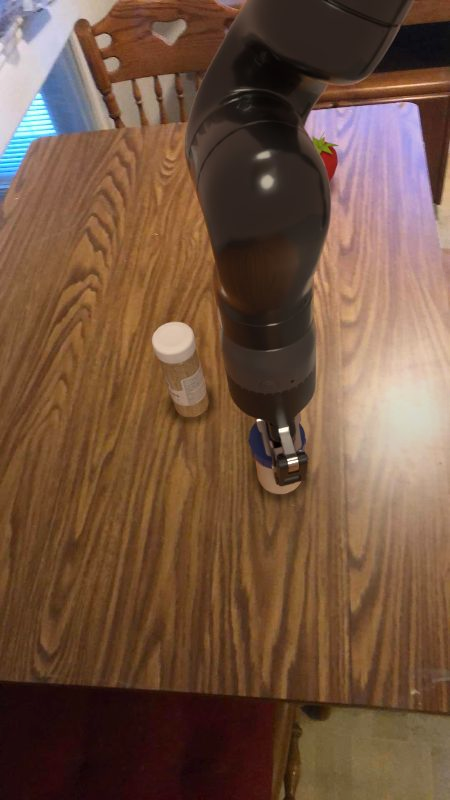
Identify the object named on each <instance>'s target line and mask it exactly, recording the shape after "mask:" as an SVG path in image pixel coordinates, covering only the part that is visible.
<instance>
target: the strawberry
mask: <svg viewBox="0 0 450 800" xmlns="http://www.w3.org/2000/svg"><path fill="white" fill-rule="evenodd" d="M324 135H325V131H324V132H323V133H322V134H321V136H320V138H319V139H317V138H316V137H315V136H312V142H313V143H314V145H315V147H316V149H317V150H318V152H319V154H320V156H321V157H322V159H323V162H324V164H325V167H326V170H327V174H328V178H329V182H331V181H332V179H333V178H334V176H335V173H336V170H337V168H338V164H339V159H338V153H337V150H336V149H335V148H334V147H339V144H336V143H331V142H327V141H326V136H324Z"/></svg>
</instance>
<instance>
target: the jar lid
mask: <svg viewBox="0 0 450 800" xmlns="http://www.w3.org/2000/svg"><path fill="white" fill-rule="evenodd" d="M299 429H300V435H301V442H302V447H301V448H300V449H299V450H302V451H305V452H306V445H307V438H306V433H305V430H304V429H305V428H304V427H303V426H302V424H301V422H300V423H299ZM268 437H269V435H268ZM269 440H270V441H274V440H273V439H272V438H270V437H269ZM248 445H249V450H250V453H251V456H252V458H253V459H254V461H255V460H256V461H257V462H258V463H259V464H261V465H262V466H263V467H266V468H270V469H272V466H271V464H272V459H271V456H268V455H267V454H266V452H265V449H264V446H263V441H262V435H261V432H260V431H259V429H258V426H257V423H256V422H255V423H254V424H253V425H252V427H251V428H250V431H249V434H248ZM299 450H298V451H299ZM282 454H283V453H280V454H278V455H282ZM278 455H277V456H278Z"/></svg>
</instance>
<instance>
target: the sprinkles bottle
mask: <svg viewBox="0 0 450 800" xmlns="http://www.w3.org/2000/svg"><path fill="white" fill-rule="evenodd" d="M151 345H152V348H153V351H154V354H155V356H156V358H157V359H158V360H159V363H160V366H161V369H162V373H163V376H164V379H165V382H166V386H167V388H168V391H169V394H170V397H171V399H172V402H173V405H174V408H175V411H176V412H177V413H178V414H179V415H180V416H181V417H184V418H196V417H198V416H200V415H202V414H204V412H206V411H207V410H208V407H209V403H210V402H209V401H210V400H209V396H208V392H207V386H206V385H207V384H206V381H205V377H204V373H203V369H202V364H201V361H200V358H199V355H198V352H197V351H198V350H197V341H196V337H195V334H194V331H193V329H192V328H191V327H190V325H188V324H187V323H185V322H181V321H170V322H166V323H164V324H162V325H160V326H158V328H157V329H156V330H155V331H154V333H153V334H152V337H151Z"/></svg>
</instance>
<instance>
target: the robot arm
mask: <svg viewBox="0 0 450 800" xmlns="http://www.w3.org/2000/svg"><path fill="white" fill-rule="evenodd" d="M415 1H416V0H246V1H245V2H244V4H243V5H242V7H241V9H240V10H239V11H238V13H237V15H236V16H235V18H234V20H233V21H232V23H231V24H230V26H229V28H228V30H227V31H226V33H225V34H224V38H223V39H222V41H221V43H220V45H219V47H218V48H217V51H216V52H215V54H214V56H213V58H212V60H211V62H210V63H209V66H208V67H207V69H206V71H205V73H204V75H203V77H202V79H201V81H200V83H199V86H198V89H197V91H196V94H195V96H194V98H193V102H192V104H191V108H190V111H189V115H188V118H187V119H188V120H187V124H186V129H185V136H184V155H185V162H186V166H187V170H188V172H189V176H190V179H191V181H192V185H193V186H194V190H195V194H196V197H197V200H198V204H199V206H200V210H201V212H202V216H203V220H204V223H205V227H206V231H207V235H208V239H209V242H210V243H209V244H210V247H211V250H212V254H213V259H214V260H213V261H214V262H213V266H212V267H213V268H212V288H213V295H214V300H215V305H216V311H217V317H218V322H219V344H220V350H221V351H220V352H221V355H222V360H223V366H224V371H225V375H226V376H225V377H226V381H227V387H228V391H229V395H230V397H231V400H232V401H233V404H234V405H235V406H236V407H237V408H238V409H239V410H240V411H241V412H242V413H244V414H245V415H247V416H249V417H251V418H253V419H255V423H257V426H258V429H259V431H260V432H261V435H262V441H263V446H264V449H265V452H266V454H267V455H268V456H271V459H272V464H271V466H272V470H274V478H275V482H276V484H277V485H279V486H281V487H282V486H286V485H290V484H294V483H296V482H300V481H301V482H303V481H306V476H307V471H308V464H309V463H308V461H309V456H308V454H307V453H306V450H305V451H302V450H299V449H300V448H301V447H302V442H301V435H300V429H299V423H300V424H301V421H302V418H301V412H302V411H303V410H304V409H306V407H307V406H308V405H309V403H310V402H311V401H312V399H313V397H314V395H315V392H316V387H317V346H318V345H317V344H318V343H317V339H318V335H317V326H316V320H315V275H316V272H317V270H318V267H319V264H320V261H321V257H322V254H323V251H324V247H325V244H326V241H327V237H328V234H329V230H330V225H331V217H332V195H331V194H332V193H331V185H330V181H329V178H328V174H327V170H326V167H325V164H324V162H323V159H322V157H321V156H320V154H319V152H318V150H317V149H316V147H315V145H314V143H313V142H312V141H313V139H311V138H312V137H310V135H309V133H308V132H307V129H306V128H305V127H306V123H307V121H308V119H309V117H310V114H311V112H312V110H313V108H314V107H315V105H316V104H317V102H319V99H320V98H321V96H322V95H323V94H324V92H325V91H326V89H327V88H328V87H329V85H330V86H337V87H339V86H341V87H344V86H351V85H356V84H358V83H360V82H363V80H365V79H366V78H368V77H369V76H370V75H371V74H372V73H373V72H374V71H375V69H376V68H377V67H378V66H379V64H380V63H381V61H382V60H383V58H384V57H385V54H386V53H387V52H388V50H389V48H390V46H391V45H392V43H394V40H395V38H396V36H397V35H398V32H399V30H400V29H401V24H403V23H404V21H405V20H406V18H407V16H408V14H409V12H410V11H411V8H412V6H413V5H414V3H415ZM268 435H269V437H270V438H272V439H273V440H274V441H270V440H269V437H268ZM298 450H299V451H298ZM280 453H283V454H282V455H278V454H280ZM277 455H278V456H277ZM301 482H300V483H301Z"/></svg>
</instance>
